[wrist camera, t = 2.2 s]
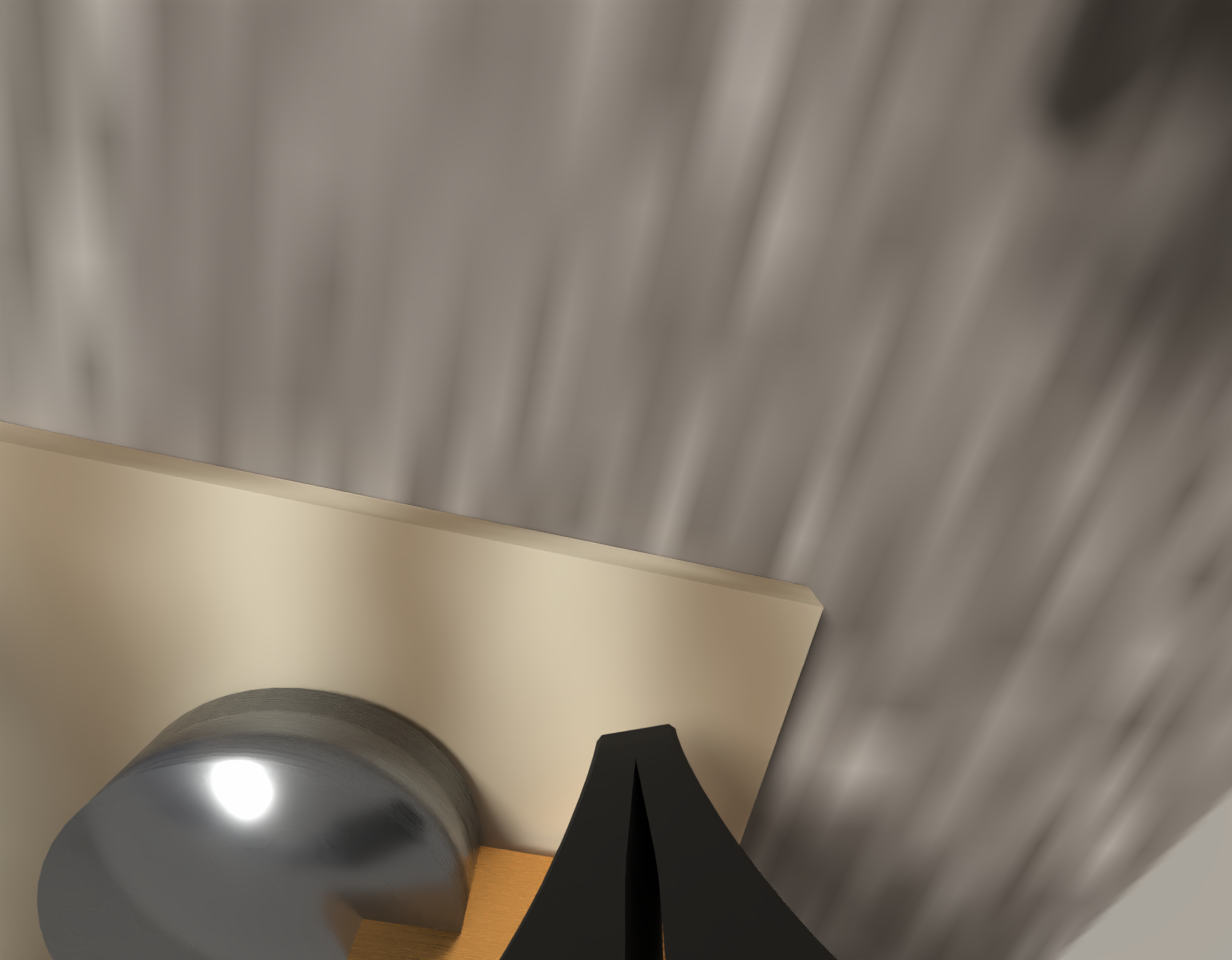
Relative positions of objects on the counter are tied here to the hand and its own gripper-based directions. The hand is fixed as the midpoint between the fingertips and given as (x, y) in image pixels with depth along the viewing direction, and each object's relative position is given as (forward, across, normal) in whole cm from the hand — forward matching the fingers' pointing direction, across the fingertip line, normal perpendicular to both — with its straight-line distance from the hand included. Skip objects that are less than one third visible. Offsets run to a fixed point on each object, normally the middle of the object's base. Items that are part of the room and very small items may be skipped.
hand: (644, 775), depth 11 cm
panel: (+4, +8, +4) cm, 9 cm away
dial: (+2, +6, +3) cm, 7 cm away
